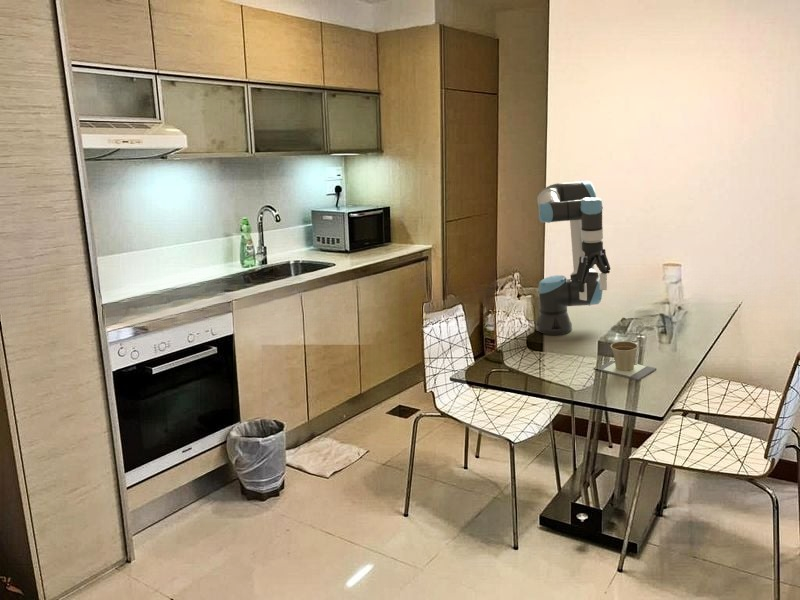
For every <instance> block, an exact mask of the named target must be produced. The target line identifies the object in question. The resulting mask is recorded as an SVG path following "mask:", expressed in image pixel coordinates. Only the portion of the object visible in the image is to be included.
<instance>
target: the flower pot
mask: <svg viewBox="0 0 800 600" xmlns="http://www.w3.org/2000/svg"><path fill="white" fill-rule="evenodd" d="M638 347H639V345H638V344H637V343H635V342H633V341H629V340H628V341H626V340H624V341H623V340H621V341H617V342H612V343H611V344H610V349H611V351H612V353H613V358H614V360H615V365H616V368H617V369H618V370H621V371H627V370H632V369H633V368H634V363H635V361H636V359H635V358H636V352H637V349H638Z"/></svg>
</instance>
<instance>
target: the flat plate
mask: <svg viewBox="0 0 800 600" xmlns="http://www.w3.org/2000/svg"><path fill="white" fill-rule="evenodd" d="M636 364H637V365H634V368H633V369H632V370H627V371H621V370H618V369H617V368H616V365H615V361H610V362H607V363H606V364H604V365H602V366H601V368H600V369H599V370H601V371H600V372H604V373H606V374H612V375H615V376H617V377H618V376H619V377H623V378H626V379H630V380H634V381H640V380H642V379H644V378H645V377H647V376H648V375H650V374H652V373H653V372H655V371H657V367H653V366H648V365H644V364H639V363H636ZM595 368H596V366H595V367H593V370H595ZM599 370H598V371H599ZM654 370H655V371H654ZM643 377H644V378H643Z"/></svg>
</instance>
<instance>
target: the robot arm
mask: <svg viewBox="0 0 800 600" xmlns="http://www.w3.org/2000/svg"><path fill="white" fill-rule="evenodd" d="M536 197H537V198H536V203H537V206H538V219H539V222H540V223H544V224H545V223H548V224H549V223H558V222H565V221H567V222H569V225H570V238H571V239H570V241H571V251H572V254H571V255H572V264H573V265H572V268H573V271H572V273H571V274H570V275H569V276H570V278H569V279H568V278H567V277H566V276H565V275H552V276H547V277H545V278H543V279H542V280H540V281H539V282H538V291H537V292H538V300H539V301H538V302H539V314H538V315H539V316H538V318H537V322H536V331H539V332H541V333H544V334H543V335H545V334H548V335H547V336H560V335H561V336H562V335H565V334H568V333H570V332H571V331H572V330H573V325H572V322H571V319H570V316H569V313H568V307H577V306H578V307H579V306H580V307H581V306H594V305H599V304H601V302H602V297H603V291H607V290H608V281H607V279H608V274H610V270H611V266H610V263H609V260H608V257H607V255H606V249H605V248H604V242H603V238H604V234H603V232H604V231H603V210H604V209H603V201H602V199H601V198H599V197H597V195H596V189H595V187H594V185H593V183H592V181H589V180H585V181H582V180H580V181H573V182H570V181H569V182H561V183H554V184H550V185H548V186H545V188H543V189H542V190H541V191H540V192H539V193H538V195H537V196H536ZM595 265H596V267H597V269H598V270H599V271H600V272H598V271H597V270H596V269H595ZM539 332H538V333H539ZM541 333H540V334H541Z"/></svg>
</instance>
